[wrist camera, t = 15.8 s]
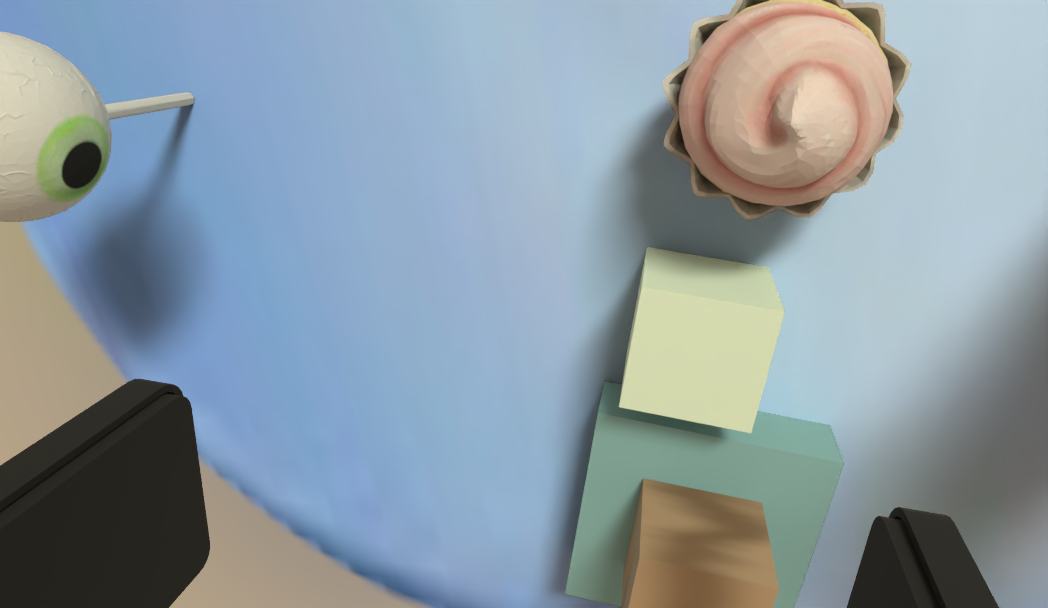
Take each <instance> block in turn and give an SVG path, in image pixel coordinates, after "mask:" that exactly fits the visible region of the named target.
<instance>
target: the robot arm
mask: <svg viewBox="0 0 1048 608" xmlns="http://www.w3.org/2000/svg"><path fill="white" fill-rule="evenodd" d="M209 551H210V540H209V532H208V525H207V518H206V511H205V503H204V496H203V488H202V481H201V474H200V467H199V459H198V452H197V444H196V437H195V430H194V422H193V415H192V408H191V404H190V401H189V400H188V399H187V398H186V397H183V394H182V391H181V390H180V389H179V387H177V386H175V385H173V384H167V383H161V382H155V381H149V380H144V379H134V380H132V381H129V382H127V383H126V384H124V385H123V386H121V387H120V388H118V389H117V390H115V391H114V392H112V393H111V394H109V395H108V396H106V397H105V398H103V399H101V400H100V401H99V402H97V403H95V404H94V405H92V406H91V407H89V408H88V409H86V410H85V411H83V412H82V413H80V414H79V415H77V416H75V417H74V418H72V419H71V420H70V421H68V422H66V423H65V424H63V425H62V426H60V427H59V428H57V429H56V430H54V431H53V432H51V433H50V434H48V435H47V436H45V437H43V438H42V439H40V440H39V441H37V442H36V443H34V444H33V445H31V446H30V447H28V448H27V449H25V450H24V451H22V452H20V453H19V454H18V455H16V456H14V457H13V458H11V459H10V460H8V461H7V462H5V463H4V464H3V465H1V466H0V608H169V607H170V605H171V604H172V603H173V602H174V601H175V600H176V599H177V598H178V596H179V595H180V594H181V593H182V592H183V591H184V590H185V588H186V587H187V586H188V585H189V584H190V583H191V582H192V580H193V579H194V578H195V577H196V576H197V575H198V574H199V572H200V571H201V570H202V568H203V567H204V565H205V563H206V561H207V558H208V555H209ZM847 608H999V607H998V605H997V603H996V601H995V599H994V597H993V596H992V594H991V592H990V590H989V588H988V586H987V584H986V582H985V580H984V579H983V577H982V575H981V573H980V571H979V569H978V567H977V565H976V563H975V562H974V560H973V558H972V556H971V554H970V552H969V550H968V548H967V546H966V544H965V543H964V541H963V539H962V537H961V535H960V533H959V531H958V529H957V527H956V526H955V524H954V522H953V521H952V519H951V518H950V517H948V516H946V515H941V514H936V513H930V512H924V511H918V510H912V509H906V508H900V507H898V508H895V509H894V510H893V511H892V512H891V514H890V516H889V518H887V517H882V516H878V517H876V518H875V520H874V522H873V524H872V527H871V530H870V533H869V536H868V540H867V543H866V546H865V550H864V553H863V556H862V560H861V563H860V566H859V569H858V573H857V576H856V579H855V583H854V586H853V589H852V592H851V596H850V599H849V602H848V606H847Z"/></svg>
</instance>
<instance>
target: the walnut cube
mask: <svg viewBox="0 0 1048 608" xmlns="http://www.w3.org/2000/svg"><path fill="white" fill-rule="evenodd" d="M778 591H779V585H778V580H777V575H776V570H775V565H774V560H773V555H772V550H771V545H770V540H769V535H768V530H767V525H766V520H765V515H764V510H763V505H762V502H757V501H752V500H747V499H742V498H737V497H732V496H727V495H722V494H718V493H713V492H708V491H703V490H698V489H693V488H688V487H683V486H678V485H673V484H668V483H663V482H659V481H654V480H649V479H644V478H643V482H642V487H641V491H640V496H639V501H638V505H637V510H636V515H635V519H634V524H633V528H632V533H631V538H630V542H629V547H628V552H627V556H626V561H625V566H624V573H623V586H622V600H621V608H773V606H774V603H775V600H776V597H777V594H778Z"/></svg>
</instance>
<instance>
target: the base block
mask: <svg viewBox="0 0 1048 608" xmlns="http://www.w3.org/2000/svg"><path fill="white" fill-rule="evenodd" d="M621 389H622V384H617V383H612V382H607V381H604V385H603V390H602V395H601V400H600V405H599V410H598V415H597V420H596V426H595V431H594V437H593V442H592V448H591V453H590V459H589V464H588V470H587V475H586V481H585V486H584V492H583V497H582V503H581V508H580V514H579V519H578V525H577V530H576V536H575V541H574V547H573V552H572V558H571V563H570V569H569V574H568V580H567V585H566V591H565V594H567V595H572V596H576V597H580V598H584V599H588V600H592V601H597V602H601V603H605V604H609V605H613V606H617V607H621V600H622V586H623V573H624V566H625V561H626V556H627V552H628V547H629V542H630V538H631V533H632V528H633V524H634V519H635V515H636V510H637V505H638V501H639V496H640V491H641V487H642V482H643V478H644V479H649V480H654V481H659V482H663V483H668V484H673V485H678V486H683V487H688V488H693V489H698V490H703V491H708V492H713V493H718V494H722V495H727V496H732V497H737V498H742V499H747V500H752V501H757V502H762V505H763V510H764V515H765V520H766V525H767V530H768V535H769V540H770V545H771V550H772V555H773V560H774V565H775V570H776V575H777V580H778V585H779V591H778V594H777V597H776V600H775V603H774V606H773V608H794V606H795V604H796V601H797V598H798V595H799V592H800V589H801V586H802V583H803V580H804V578H805V575H806V572H807V569H808V566H809V563H810V560H811V557H812V554H813V552H814V549H815V546H816V543H817V540H818V537H819V534H820V531H821V529H822V526H823V523H824V520H825V517H826V514H827V511H828V508H829V505H830V503H831V500H832V497H833V494H834V491H835V488H836V485H837V482H838V479H839V477H840V474H841V471H842V468H843V465H844V461H843V459H842V456H841V453H840V451H839V448H838V445H837V443H836V440H835V437H834V435H833V432H832V430H831V427H830V425H826V424H821V423H816V422H811V421H806V420H800V419H795V418H790V417H785V416H780V415H775V414H770V413H765V412H760V411H757V414H756V418H755V422H754V425H753V429H752V432H751V433H747V432H742V431H737V430H732V429H727V428H722V427H717V426H712V425H707V424H702V423H697V422H692V421H686V420H681V419H676V418H671V417H666V416H661V415H656V414H651V413H646V412H641V411H636V410H631V409H626V408H621V407H619V403H620V396H621Z"/></svg>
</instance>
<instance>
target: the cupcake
mask: <svg viewBox="0 0 1048 608" xmlns="http://www.w3.org/2000/svg"><path fill="white" fill-rule="evenodd" d="M910 68H911V63H910V61H909V60H908V59H907V58H906V56H905V55H904V54H903V53H901V52H900V51H898V50H896V49H895V48H893V47H891V46H890V45H888V44H886V43H885V12H884V8H883V5H881V4H877V3H874V2H865V3H844V2H843V0H737V2H736V3H735V5H734V7H733V8H732V10H731V12H730V13H729V14H727V15H721V16H715V17H708V18H703V19H700V20H698V21H696V22H694V23H693V26H692V29H691V32H690V45H689V59H688V60H687V61H686V62H684V63H683V64H682V65H680V66H679V67H678V68H677V69H675V70H674V71H673V72H671V73H670V74H669V75H668V76H667V77H666V78H665V80H664V81H663V82H662V85H663V90H664V93H665V95H666V97H667V99H668V101H669V103H670V105H671V107H672V108H673V110H674V112H675V115H674V117H673V120H672V122H671V124H670V126H669V128H668V130H667V133H666V135H665V138H664V146H665V147H666V149H667V150H668V151H669V152H671V153H672V154H674V155H676V156H677V157H679V158H681V159H683V160H684V161H686V162H688V163H689V164H690V176H691V187H692V190H693V192H694V195H697V196H700V197H707V198H727V199H728V200H729V201H730V203H731V204H732V206H733V207H734V208H735V210H736V211H737V213H738V214H740V215H741V216H743V217H744V218H745V219H747V220H750V219H757V218H761V217H763V216H765V215H767V214H769V213H771V212H773V211H775V210H777V209H780V210H783V211H785V212H787V213H790V214H792V215H794V216H797V217H805V218H810V217H811V216H813V215H814V214H815V213H817V212H818V211H819V210H820V209H821V208H822V206H823V205H824V204H825V202H826V201H827V200H828V198H829V197H830V196H831V195H832V194H833V193H840V192H850V191H854V190H856V189H858V188H860V187H862V186H864V185H866V184H867V182H868V180H869V178H870V177H871V175H872V173H873V169H874V162H875V156H876V153H878V152H879V151H881V150H882V149H884V148H885V147H887V146H889V145H890V144H892V143H893V142H894V141H895V140H896V138H897V137H898V135H899V133H900V132H901V130H902V125H903V118H904V115H903V113H902V111H901V109H900V107H899V104H898V102H897V100H896V98H897V96H898V94H899V92H900V91H901V89H902V87H903V86H904V84H905V82H906V81H907V79H908V76H909V72H910Z"/></svg>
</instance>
